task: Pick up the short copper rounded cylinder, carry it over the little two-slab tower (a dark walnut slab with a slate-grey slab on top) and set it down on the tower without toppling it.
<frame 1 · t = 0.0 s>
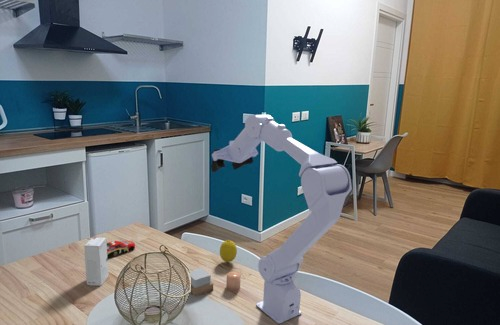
hand: (223, 168, 112), 32 cm above the table, tool tilted 50°, fingers open, 7 cm apart
skincare box: (97, 280, 107), on the table
walnut slab: (198, 289, 105), on the table, touching grey slab
lemon: (227, 263, 121), on the table
copper rounded cylinder: (233, 287, 106), on the table
race car: (116, 253, 124), on the table
grey slab: (198, 281, 104), point 2 cm above the table, touching walnut slab
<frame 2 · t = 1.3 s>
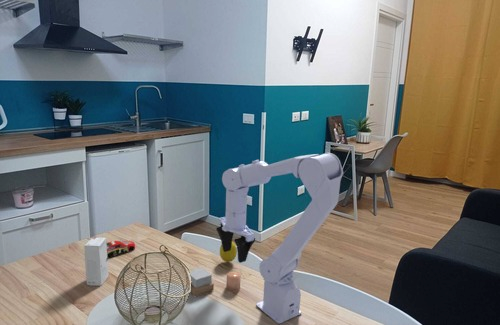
hand: (234, 256, 104), 10 cm above the table, tool pointing down, fingers open, 7 cm apart
walnut slab: (198, 290, 105), on the table
grey slab: (199, 281, 104), point 2 cm above the table
everything else where it was.
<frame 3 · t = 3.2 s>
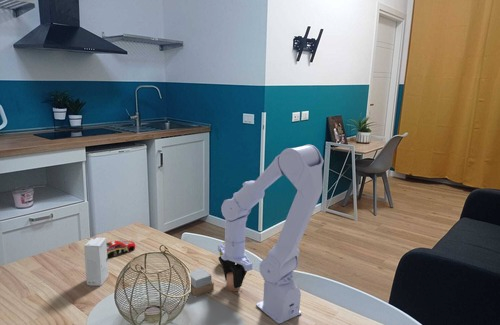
hand: (233, 283, 106), 1 cm above the table, tool pointing down, fingers closed on copper rounded cylinder, 4 cm apart
walnut slab: (199, 290, 105), on the table, touching grey slab
copper rounded cylinder: (233, 287, 106), on the table, touching gripper
grey slab: (199, 282, 104), point 2 cm above the table, touching walnut slab
everything else where it was.
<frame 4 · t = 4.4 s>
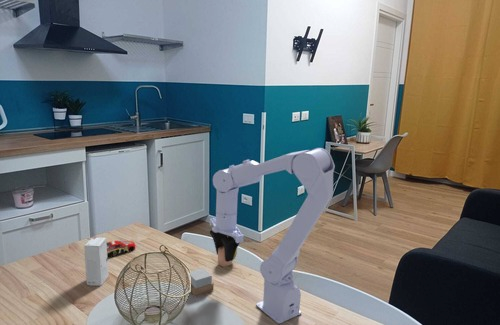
hand: (224, 257, 104), 9 cm above the table, tool pointing down, fingers closed on copper rounded cylinder, 4 cm apart
walnut slab: (198, 289, 105), on the table
copper rounded cylinder: (224, 262, 104), point 8 cm above the table, touching gripper
grey slab: (199, 282, 104), point 2 cm above the table
everything else where it was.
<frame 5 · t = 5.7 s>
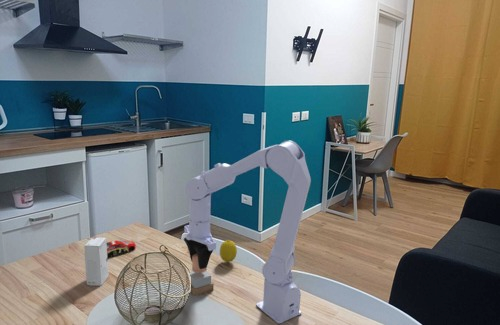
hand: (199, 264, 103), 7 cm above the table, tool pointing down, fingers closed on copper rounded cylinder, 4 cm apart
walnut slab: (198, 289, 105), on the table, touching grey slab
copper rounded cylinder: (199, 269, 104), point 6 cm above the table, touching gripper
grey slab: (199, 282, 104), point 2 cm above the table, touching walnut slab
everything else where it was.
when the fingers open (7 cm above the table, at t = 6.1 s): copper rounded cylinder drops 1 cm, resting on grey slab.
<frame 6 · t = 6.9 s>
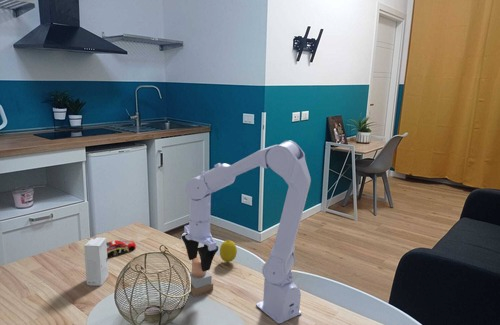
hand: (199, 264, 103), 7 cm above the table, tool pointing down, fingers open, 7 cm apart
copper rounded cylinder: (198, 273, 104), point 5 cm above the table, touching grey slab
grey slab: (199, 282, 104), point 2 cm above the table, touching copper rounded cylinder, walnut slab
everything else where it was.
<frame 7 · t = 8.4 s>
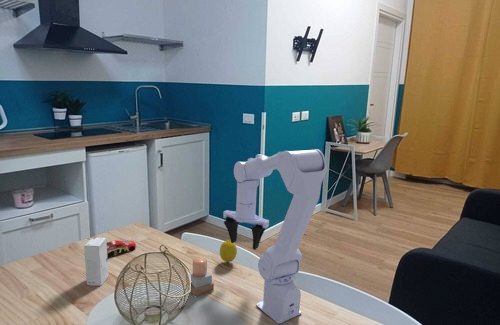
hand: (244, 245, 110), 10 cm above the table, tool pointing down, fingers open, 7 cm apart
nothing on the table moved.
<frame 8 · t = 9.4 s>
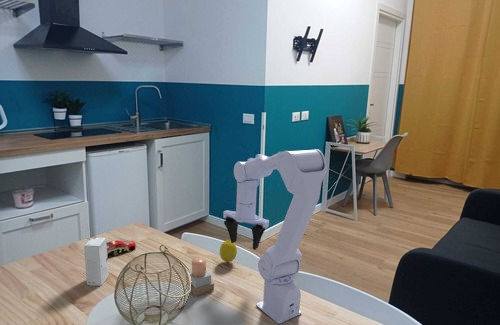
hand: (244, 245, 110), 10 cm above the table, tool pointing down, fingers open, 7 cm apart
walnut slab: (199, 290, 105), on the table
grey slab: (199, 281, 104), point 2 cm above the table, touching copper rounded cylinder
everything else where it was.
at the end: copper rounded cylinder 0.1 cm off-centre on the grey slab, point 2.5 cm above the grey slab's base; copper rounded cylinder tilted 1°; grey slab moved 0.6 cm from its start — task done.
